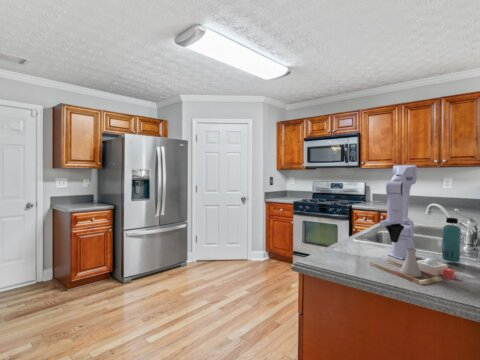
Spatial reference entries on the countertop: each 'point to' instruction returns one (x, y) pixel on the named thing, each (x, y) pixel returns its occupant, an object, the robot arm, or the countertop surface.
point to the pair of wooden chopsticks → (432, 277)
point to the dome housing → (432, 268)
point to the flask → (411, 264)
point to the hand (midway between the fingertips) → (394, 241)
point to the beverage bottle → (451, 241)
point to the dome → (430, 262)
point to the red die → (448, 273)
